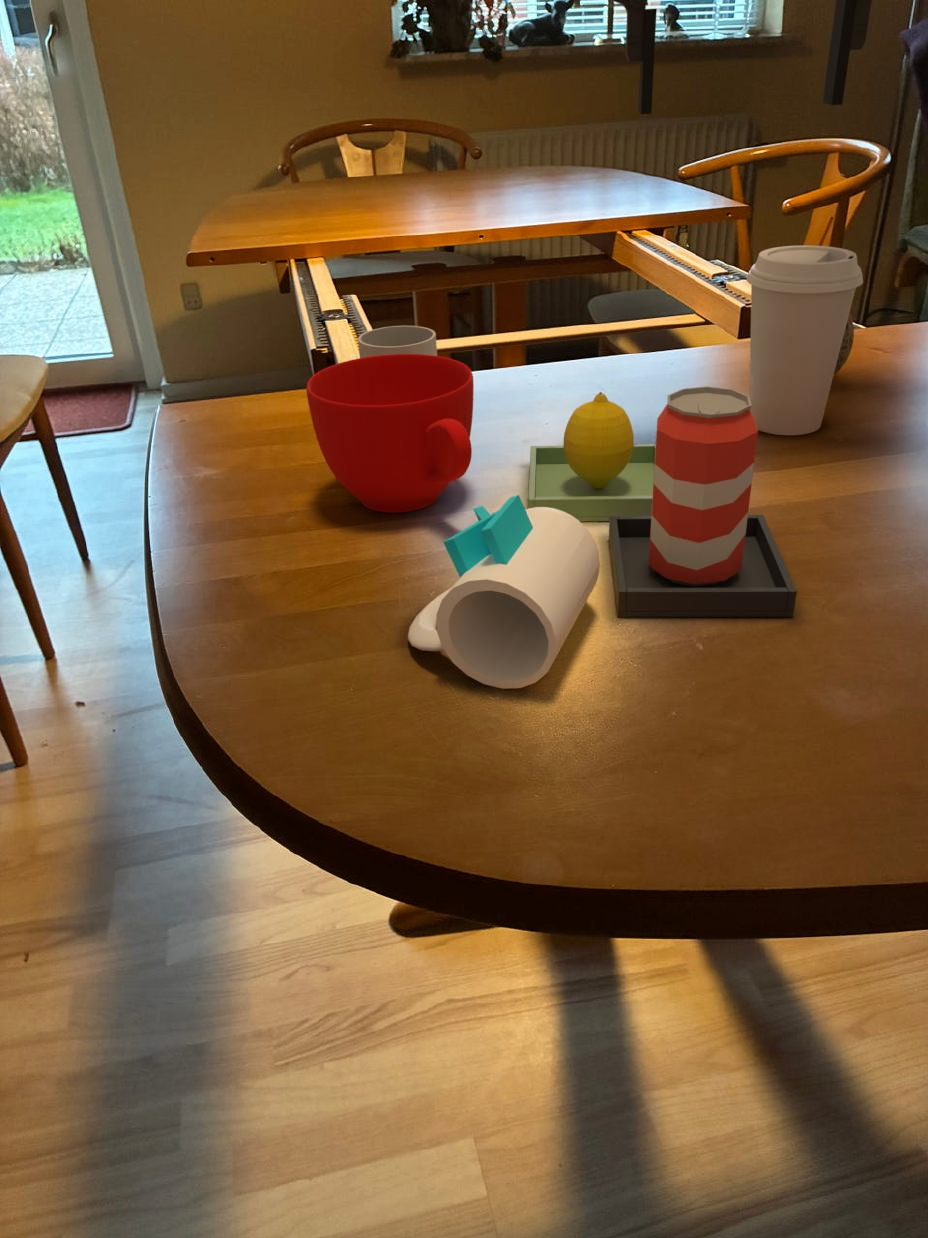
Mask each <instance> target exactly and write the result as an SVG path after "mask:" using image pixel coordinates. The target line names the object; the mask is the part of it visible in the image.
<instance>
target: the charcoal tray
mask: <svg viewBox="0 0 928 1238" xmlns="http://www.w3.org/2000/svg"><path fill="white" fill-rule="evenodd" d="M608 522H609V523H608V527H609V528H608V544H609V553H610V562H611V563H610V564H611V571H612V579H613V587H614V596H615V604H616V605H615V606H616V613H617V614H616V615H617V618H623V617H624V618H646V617H647V618H648V617H649V618H793V617H794V611H795V605H796V600H797V593H798V592H797V588H796V586H795V584H794V582H793V580H792V577H791V574H790V573H789V571H788V568H787V566H786V563H785V561H784V559H783V556H782V554H781V552H780V550H779V547H778V545H777V543H776V541H775V539H774V536H773V534H772V532H771V529H770V526H769V525H768V523H767V522H768V521H767V520H766V517H765V516H764V514H748V518H747V527H746V535H745V543H744V551H743V560H742V568H741V570H740V571H739V572H737V573H736V574H734V575H733V576H731V577H730V578H728V579H727V580H725V581H720V582H718V583H717V584H714V585H705V586H696V587H693V586H688V585H683V584H678V583H673V582H672V581H670V580H669V579H667V578H665V577H664V576H662V575H661V574H659V573H658V572H657V571H655V570H654V569H652V568H651V567H649V547H650V531H651V516H617V517H616V516H610V519H609V521H608Z"/></svg>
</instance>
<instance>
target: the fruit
mask: <svg viewBox="0 0 928 1238" xmlns="http://www.w3.org/2000/svg"><path fill="white" fill-rule="evenodd" d="M634 444H635V437H634V430H633V426H632V422H631V420H630V418H629V416H628V413H627V412H626V411H625V409H624V408H623V407H622V406H620V405H618V404H617V403H615V402H613V401H610V400H608V397H607V395H606V394H604V393H603V392H602V391H599V393H597V394H596V395H595V396H594V398H593V400H592V401H588V402H584V403H583V404H581V405H579V406H578V407H576V408H575V409H574V411H573V412H572V414H571V415H570V417H569V418H568V421H567V424H566V427H565V430H564V433H563V444H562V446H564V453H565V456H566V460H567V462H568V464H569V466H570V467H571V469H572V470H573V471H574V472H575V473H576V474H577V475H578V476H580V477H581V478H582V479H584V480H585V481H587V482H588V483H589V484H590V485H591V486H592V487H593V488H595V489H602V488H605V487H606V486H607V485H608V484H609V482H610V481H611V480H612V479H613V478H615V477H616V476H618V475H619V474H620V473H621V472H622V471H623V469H624V468H625V467H626V465H627V464H628V462H629V460H630V458H631V456H632V453H633V448H634Z"/></svg>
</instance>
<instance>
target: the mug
mask: <svg viewBox="0 0 928 1238" xmlns="http://www.w3.org/2000/svg"><path fill="white" fill-rule="evenodd" d="M472 509H473V512H474V514H475V516H476V518H477V522H474V523H473V524H471V525H469V526H468V527H466V528H464V529H463V530H461V531H459V532H457V533H456V534H454V535H452V536H451V537H449V538H448V539H445V540H444V541H443V542H442V543H443V545H444V548H445V549H446V551H447V553H448V555H449V557H450V559H451V562H452V563H453V565H454V568H455V571H456V572H457V574H458V578H457V580H456V581H455V582H454V584H453V585H452V586H451V587H450V588H449V589H447V590H445V591H443V592H442V593H440V594H439V595H438V596H437V597H435V598H434V599H433V600H431V601H430V602H428V603H427V605H426V606H425V607H424V608H422V610H420V612H419V613H418V614H417V615H416V616H415V617H414V619H413V621H412V622H411V625H410V626H409V628H408V635H407V640H408V642H409V644H410V646H412V647H414V648H416V649H418V650H419V651H424V652H425V651H426V652H440V651H441V652H442V651H444V653H446V655H447V657H448V658H449V659H450V661H451V662H452V663H453V664H454V665H455V667H457V668H458V669H459V670H460V671H462V672H463V673H464V674H465V675H466V676H467V677H470V678H472V679H474V680H475V681H477V682H479V683H481V684H483V685H486V686H490V687H494V688H498V689H522V688H524V687H528V686H530V685H533V684H535V683H537V682H538V681H539V680H540V679H541V678H543V677H544V676H545V675H547V673H549V671H550V669H551V667H552V665H553V664H554V662H555V660H556V659H557V656H558V654H559V652H560V651H561V649H562V647H563V645H564V644H565V642H566V640H567V638H568V637H569V634H570V633H571V630H572V628H573V627H574V625H575V623H576V622H577V619H578V618H579V616H580V614H581V612H582V610H583V608H584V607H585V605H586V603H587V601H588V599H589V597H590V595H591V593H593V590H594V588H595V586H596V584H597V582H598V578H599V575H600V567H601V564H600V561H601V560H600V555H599V549H598V547H597V543H596V541H595V539H594V537H593V535H592V534H591V532H590V530H589V529H588V528H587V527H586V526H585V525H584V524H583V523H582V521H579V520H577V519H576V518H574V517H573V516H572V515H570V514H568V513H566V512H564V511H561V510H558V509H554V508H548V507H534V508H529V509H528V508H525V506H524V504H523V501H522V499H521V497H520V494H516V495H513V496H510V497H508V499H507V500H506V501H505V503H504V504H503V505H502V506H501V507H500V508H499V510H497V511H495V512H493V513H489V511H488V510H487V509H486V508H485V507H484V506H483V505H480V506H478V507H474V508H472Z"/></svg>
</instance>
